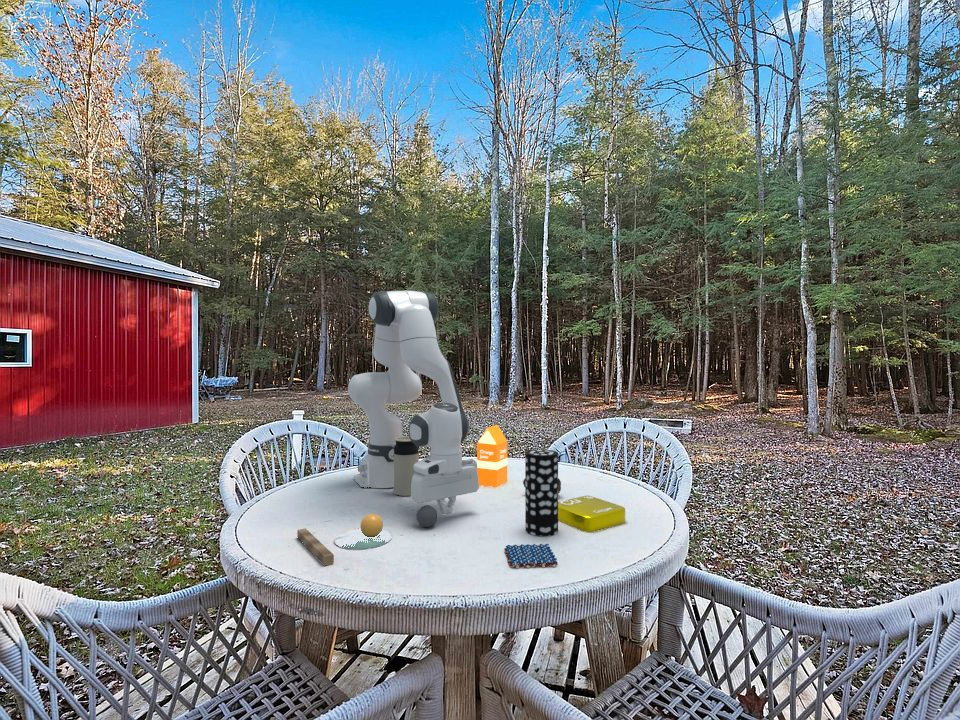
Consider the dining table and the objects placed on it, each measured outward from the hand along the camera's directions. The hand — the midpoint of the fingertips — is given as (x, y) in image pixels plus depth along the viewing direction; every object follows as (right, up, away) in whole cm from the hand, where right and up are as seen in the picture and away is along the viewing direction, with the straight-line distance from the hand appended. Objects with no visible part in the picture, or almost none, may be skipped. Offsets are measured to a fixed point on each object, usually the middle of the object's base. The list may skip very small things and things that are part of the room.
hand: (446, 513), depth 135 cm
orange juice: (+14, -1, +37) cm, 40 cm away
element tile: (+39, -2, -1) cm, 39 cm away
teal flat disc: (-19, -2, -14) cm, 24 cm away
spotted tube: (+25, -2, -9) cm, 27 cm away
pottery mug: (+29, -2, +22) cm, 36 cm away
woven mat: (+20, -3, -26) cm, 33 cm away
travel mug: (-15, -2, +25) cm, 29 cm away
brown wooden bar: (-29, -2, -21) cm, 36 cm away
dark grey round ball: (-5, +1, -6) cm, 8 cm away
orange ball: (-18, +1, -13) cm, 22 cm away
